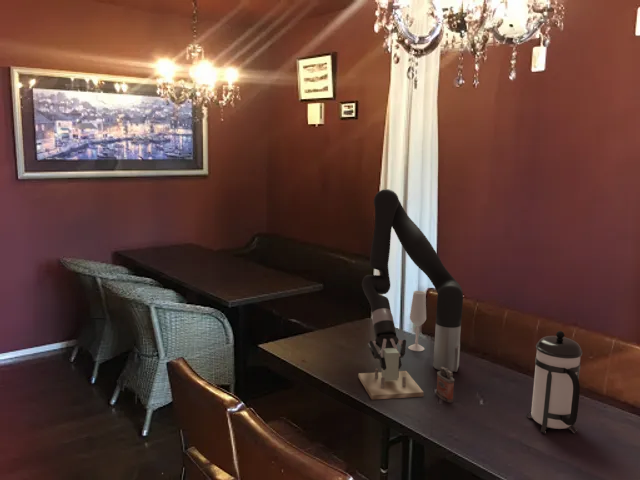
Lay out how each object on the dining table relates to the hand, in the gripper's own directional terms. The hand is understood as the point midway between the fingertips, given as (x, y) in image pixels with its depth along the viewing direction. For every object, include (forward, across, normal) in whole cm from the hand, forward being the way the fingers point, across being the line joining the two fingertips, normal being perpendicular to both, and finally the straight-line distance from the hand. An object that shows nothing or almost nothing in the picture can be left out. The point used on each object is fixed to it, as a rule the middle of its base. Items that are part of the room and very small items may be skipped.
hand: (391, 368), depth 194 cm
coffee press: (+28, +42, -18) cm, 53 cm away
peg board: (+4, 0, +6) cm, 8 cm away
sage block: (+2, 0, +4) cm, 5 cm away
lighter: (+11, +16, -1) cm, 20 cm away
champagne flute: (-20, +22, +31) cm, 43 cm away
